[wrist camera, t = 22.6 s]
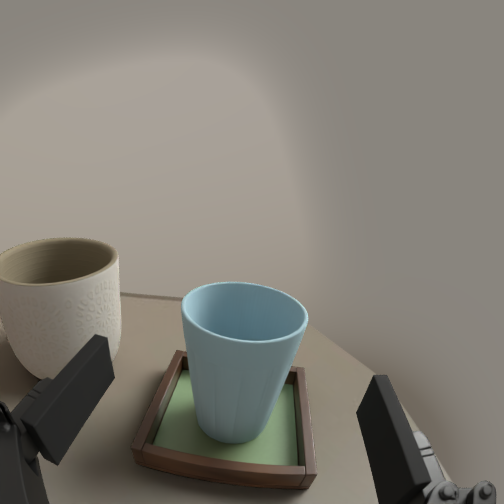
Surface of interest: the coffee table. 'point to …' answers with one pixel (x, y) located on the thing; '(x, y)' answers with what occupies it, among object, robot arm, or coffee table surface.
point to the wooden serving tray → (226, 454)
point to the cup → (239, 354)
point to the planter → (59, 300)
